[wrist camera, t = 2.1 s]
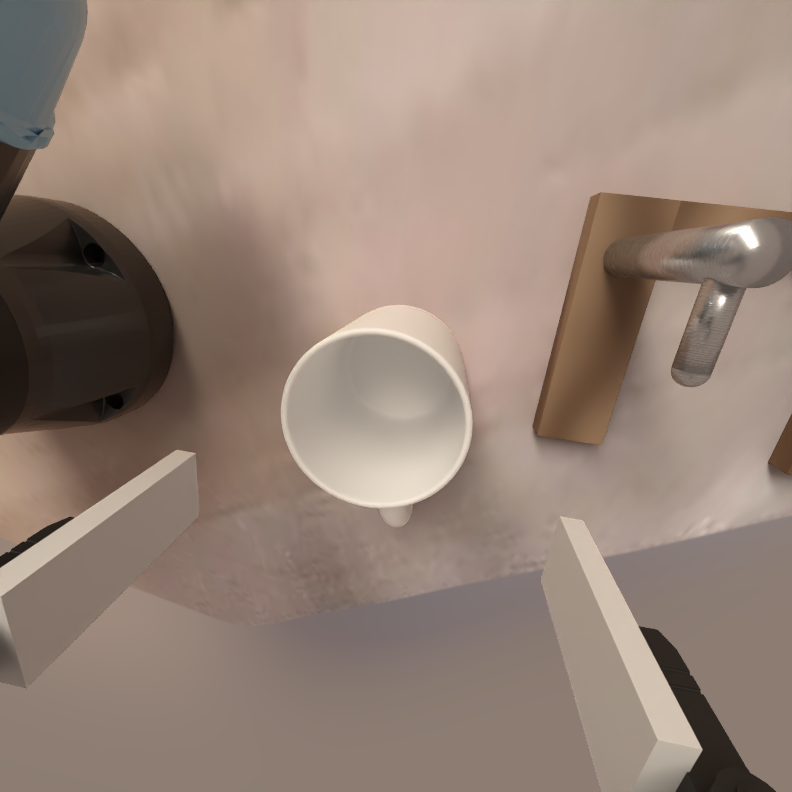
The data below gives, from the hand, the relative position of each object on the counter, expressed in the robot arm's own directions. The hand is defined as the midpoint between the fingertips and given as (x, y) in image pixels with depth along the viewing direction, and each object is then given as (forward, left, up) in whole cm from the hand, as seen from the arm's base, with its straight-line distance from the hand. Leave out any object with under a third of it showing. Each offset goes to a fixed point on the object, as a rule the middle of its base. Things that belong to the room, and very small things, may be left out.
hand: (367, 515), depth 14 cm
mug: (0, 0, -14) cm, 14 cm away
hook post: (+11, +8, -12) cm, 18 cm away
